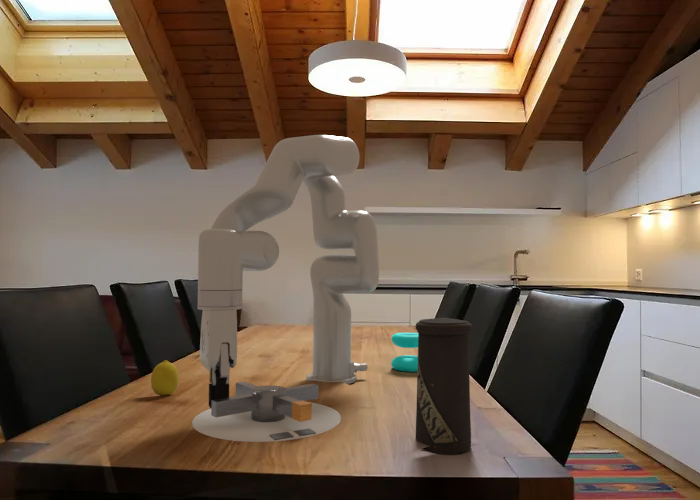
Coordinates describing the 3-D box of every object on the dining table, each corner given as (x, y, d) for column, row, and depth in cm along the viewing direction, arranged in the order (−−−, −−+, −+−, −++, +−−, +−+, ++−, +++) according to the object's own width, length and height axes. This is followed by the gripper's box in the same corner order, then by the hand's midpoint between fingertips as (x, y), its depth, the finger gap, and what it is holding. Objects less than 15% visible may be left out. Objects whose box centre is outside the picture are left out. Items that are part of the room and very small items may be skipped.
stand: (304, 399, 108) (304, 393, 108) (368, 432, 85) (368, 425, 86) (177, 414, 95) (178, 407, 95) (214, 459, 73) (214, 450, 73)
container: (409, 437, 83) (410, 315, 84) (463, 436, 84) (463, 315, 85) (421, 456, 75) (422, 320, 76) (480, 455, 76) (480, 320, 76)
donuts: (427, 332, 148) (425, 336, 139) (427, 367, 148) (425, 373, 138) (394, 331, 150) (389, 335, 141) (393, 365, 150) (389, 371, 140)
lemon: (169, 402, 104) (170, 363, 104) (144, 400, 105) (146, 361, 105) (183, 396, 109) (184, 358, 110) (159, 394, 110) (161, 357, 111)
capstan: (187, 414, 91) (188, 386, 92) (284, 397, 105) (285, 373, 105) (248, 447, 75) (248, 412, 75) (354, 421, 89) (354, 392, 89)
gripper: (192, 298, 93) (190, 398, 92) (204, 303, 79) (202, 422, 79) (233, 297, 96) (231, 394, 96) (251, 302, 83) (250, 416, 82)
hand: (218, 406), depth 87 cm, fingers closed
